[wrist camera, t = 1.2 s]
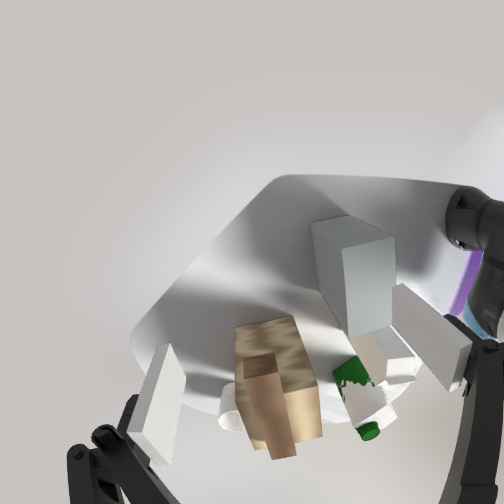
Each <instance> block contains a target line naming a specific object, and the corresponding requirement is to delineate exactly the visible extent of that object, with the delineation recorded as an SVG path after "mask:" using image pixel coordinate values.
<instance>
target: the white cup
mask: <svg viewBox="0 0 504 504" xmlns="http://www.w3.org/2000/svg"><path fill="white" fill-rule="evenodd" d="M218 422H219V424H220V426H221V427H222V428H224V429H226V430H228V431H234V432H241V431H246V429H245V426H244V424H243V421H242V419H241V416H240V414H239V411H238V409H237V406H236V404H235V382H231V383H228V384H227V385H225V386H224V387H223V390H222V396H221V402H220V409H219V418H218Z"/></svg>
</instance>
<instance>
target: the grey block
mask: <svg viewBox="0 0 504 504" xmlns="http://www.w3.org/2000/svg"><path fill="white" fill-rule="evenodd" d="M309 224H310V230H311V237H312V243H313V250H314V257H315V264H316V271H317V279H318V287H319V292H320V294H321V295H322V297H323V298H324V300H325V302H326V303H327V305H328V306H329V308H330V310H331V311H332V313H333V314H334V316H335V318H336V319H337V321H338V322H339V324H340V326H341V327H342V329H343V331H344V332H345V334H346V335H347V337H348V338H352V337H355V336H358V335H362V334H365V333H368V332H371V331H374V330H378V329H381V328H384V327H387V326H390V325H392V287H393V286H396V252H395V236H393V235H391V234H389V233H387V232H385V231H383V230H381V229H378V228H376V227H374V226H372V225H370V224H368V223H366V222H364V221H362V220H359V219H357V218H355V217H353V216H351V215H346V216H341V217H336V218H331V219H326V220H322V221H317V222H312V223H309Z"/></svg>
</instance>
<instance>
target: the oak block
mask: <svg viewBox="0 0 504 504" xmlns="http://www.w3.org/2000/svg"><path fill="white" fill-rule="evenodd" d="M272 352H274V353H275V357H276V362H277V366H278V371H279V375H280V380H281V385H282V389H283V394H284V398H285V403H286V407H287V412H288V417H289V421H290V426H291V430H292V435H293V440H294V443H297V442H301V441H306V440H310V439H314V438H318V437H322V424H321V412H320V401H319V390H318V384H317V381H316V379H315V376H314V373H313V370H312V367H311V364H310V362H309V359H308V356H307V353H306V351H305V348H304V345H303V342H302V339H301V337H300V334H299V331H298V328H297V326H296V323H295V320H294V318H293V316H289V317H284V318H280V319H275V320H271V321H266V322H262V323H257V324H252V325H247V326H242V327H237V328H235V404H236V406H237V409H238V411H239V414H240V416H241V419H242V421H243V424H244V426H245V429H246V431H247V433H248V436H249V438H250V440H251V443H252V445H253V447H254V450H259V449H266V448H267V445H266V442H265V439H264V437H263V434H262V431H261V428H260V425H259V422H258V420H257V417H256V414H255V411H254V408H253V405H252V402H251V399H250V396H249V393H248V390H247V387H246V384H245V381H244V370H243V358H247V357H252V356H258V355H263V354H267V353H272Z"/></svg>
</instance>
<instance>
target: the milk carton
mask: <svg viewBox="0 0 504 504" xmlns="http://www.w3.org/2000/svg"><path fill="white" fill-rule="evenodd" d="M332 373H333V376H334V379H335V382H336V385H337V387H338V390H339V393H340V395H341V397H342V400H343V402H344V404H345V407H346V409H347V412H348V414H349V416H350V419H351V422H352V425H353V427H355V429H356V430H357V431H358V433H359V434H360V436H361V438H362V440H363V441H368V440H371V439H373V438H375V437H377V436H378V435H379V433H380V430H381V429H382V428H384V427H386V426H387V425H388V424H389V423H391V422H392V421H394V420H395V419H397V416H396V414H395V411H394V409H393V407H392V404H391V402H390V400H389V398H388V396H387V394H386V393H385V391H384V389H383V387H382V386H375V384H374V383H373V381H372V379H371V377H370V376H369V374H368V372H367V371H366V369H365V367H364V366H363V364H362V362H361V360H360V359H359V357H358V356H357V355H356V356H355V357H353V358H352V359H351V360H349V361H348V362H346V363H345V364H343V365H342V366H340V367H339V368H338V369H336V370H335V371H333V372H332Z"/></svg>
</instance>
